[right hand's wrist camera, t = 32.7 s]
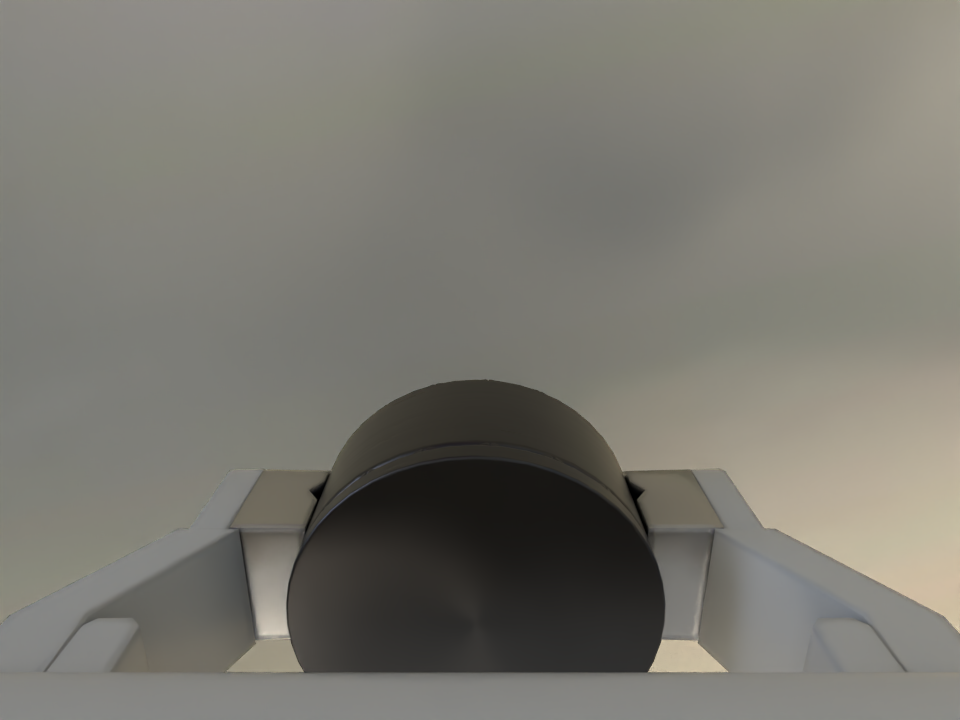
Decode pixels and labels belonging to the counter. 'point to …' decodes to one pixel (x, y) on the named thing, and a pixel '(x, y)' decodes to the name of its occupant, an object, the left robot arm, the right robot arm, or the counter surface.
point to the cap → (476, 544)
